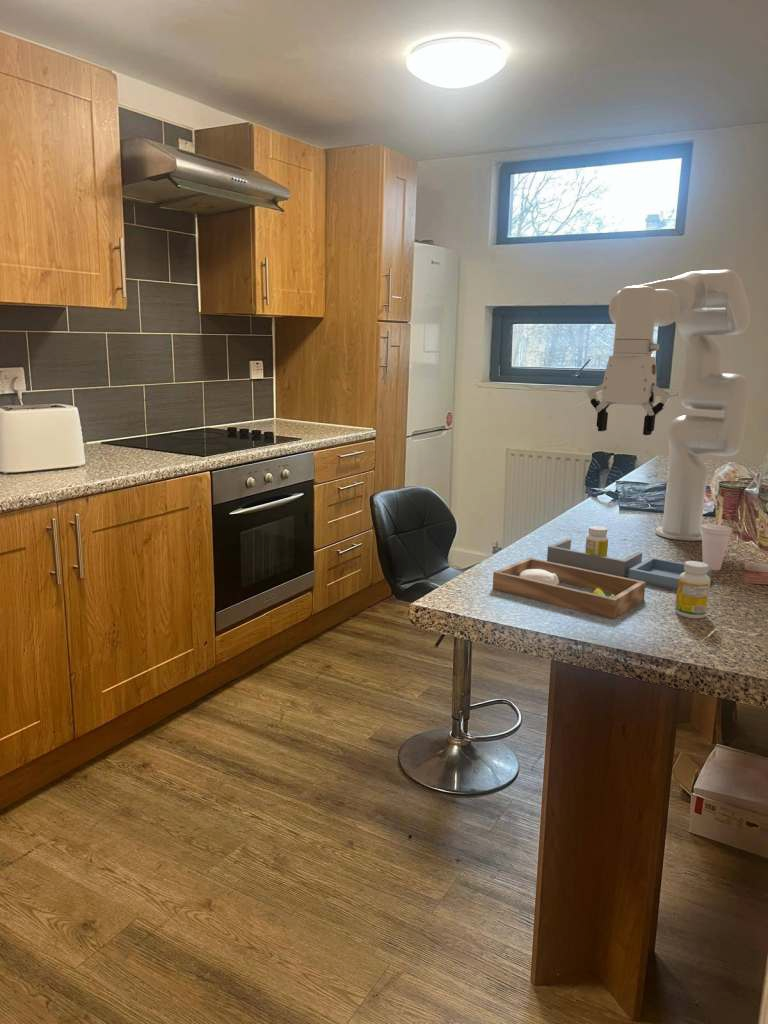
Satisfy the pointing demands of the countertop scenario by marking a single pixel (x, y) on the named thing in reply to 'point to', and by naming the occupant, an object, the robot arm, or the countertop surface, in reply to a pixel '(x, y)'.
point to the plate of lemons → (601, 593)
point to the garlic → (540, 576)
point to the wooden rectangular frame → (624, 588)
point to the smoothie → (714, 543)
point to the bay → (591, 560)
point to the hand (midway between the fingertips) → (624, 432)
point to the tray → (659, 573)
